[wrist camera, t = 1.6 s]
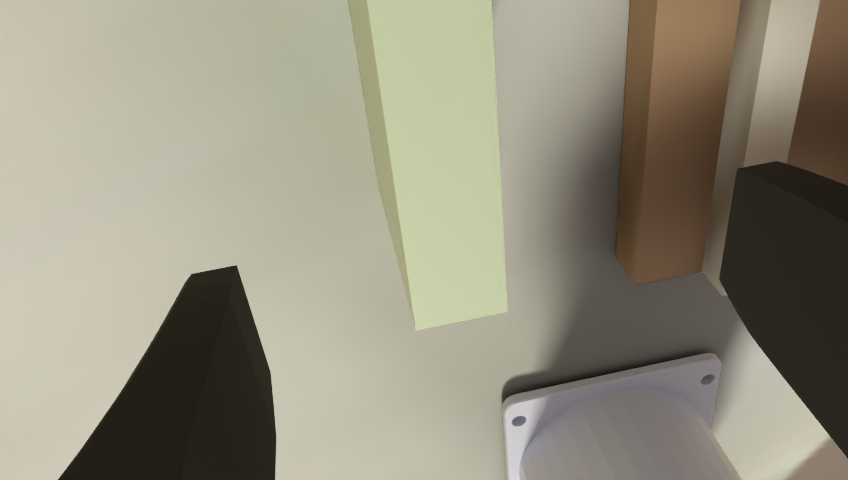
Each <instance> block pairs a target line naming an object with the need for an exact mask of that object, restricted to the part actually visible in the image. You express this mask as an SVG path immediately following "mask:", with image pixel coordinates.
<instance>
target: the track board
mask: <svg viewBox="0 0 848 480" xmlns="http://www.w3.org/2000/svg"><path fill="white" fill-rule="evenodd" d="M774 161H779V162H782V163H786V164H789V165H792V166H796V167H799V168H802V169H805V170H807V171H810V172H813V173H816V174H818V175H821V176H824V177H827V178H829V179H832V180H835V181H837V182H840V183H842V184H845V185H847V186H848V0H630V11H629V29H628V46H627V64H626V81H625V99H624V117H623V134H622V152H621V169H620V187H619V204H618V222H617V239H616V258H617V259H618V260H619V262H620V263H621V265H622V266H623V268H624V269H625V271H626V272H627V274H628V275H629V277H630V278H631V280H632V281H633V283H634V284H635V285H638V284H643V283H648V282H653V281H658V280H663V279H667V278H672V277H677V276H682V275H687V274H692V273H697V272H701V271H702V272H703V274H704V275H705V276H706V277H707V279H708V280H709V281H710V282H711V284H712V285H713V286H714V287H715V288H716V290H717V291H718V292H719V293H720V295H721V296H725V295H727V293H726V291H725V290H724V288H723V286H722V284H721V282H720V280H719V276H720V270H721V264H722V258H723V251H724V245H725V239H726V233H727V227H728V221H729V215H730V208H731V202H732V196H733V190H734V184H735V178H736V172H737V169H738V168H743V167H748V166H753V165H758V164H764V163H769V162H774Z"/></svg>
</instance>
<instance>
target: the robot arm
mask: <svg viewBox="0 0 848 480" xmlns="http://www.w3.org/2000/svg"><path fill="white" fill-rule="evenodd" d="M719 280H720V282H721V284H722V286H723V288H724V290H725V291H726V293H727V295H728V297H729V299H730V300H731V302H732V304H733V306H734V308H735V310H736V311H737V313H738V315H739V316H740V318H741V320H742V321H743V323H744V325H745V326H746V328H747V329H748V331H749V333H750V334H751V336H752V337H753V339H754V340H755V341H756V343H757V344H758V345H759V347H760V348H761V349H762V350H763V352H764V353H765V354H766V356H767V357H768V358H769V359H770V361H771V362H772V363H773V365H774V366H775V367H776V368H777V370H778V371H779V372H780V374H781V375H782V376H783V377H784V379H785V380H786V381H787V382H788V384H789V385H790V386H791V387H792V389H793V390H794V391H795V392H796V394H797V395H798V396H799V398H800V399H801V400H802V401H803V403H804V404H805V405H806V406H807V408H808V409H809V410H810V411H811V413H812V414H813V415H814V416H815V418H816V419H817V420H818V421H819V423H820V424H821V425H822V426H823V428H824V429H825V430H826V431H827V433H828V434H829V435H830V436H831V438H832V439H833V440H834V442H835V443H836V444H837V445H838V447H839V448H840V449H841V450H842V452H843V453H844V454H845V455H846V457H847V458H848V186H847V185H845V184H842V183H840V182H837V181H835V180H832V179H829V178H827V177H824V176H821V175H818V174H816V173H813V172H810V171H807V170H805V169H802V168H799V167H796V166H792V165H789V164H786V163H782V162H779V161H774V162H769V163H764V164H758V165H753V166H748V167H743V168H738V169H737V172H736V178H735V184H734V190H733V196H732V202H731V208H730V215H729V221H728V227H727V233H726V239H725V245H724V251H723V258H722V264H721V270H720V276H719ZM721 368H722V362H721V361H720V360H719V358H718V357H717V356H716V355H715V354H713V353H704V354H699V355H694V356H690V357H685V358H681V359H676V360H671V361H667V362H662V363H657V364H653V365H648V366H644V367H639V368H634V369H630V370H625V371H620V372H616V373H611V374H607V375H602V376H597V377H593V378H588V379H583V380H579V381H574V382H569V383H565V384H560V385H556V386H551V387H546V388H542V389H537V390H532V391H528V392H523V393H519V394H514V395H512V396H509V397H508V398H507V399H505V401H504V402H503V404H502V417H503V432H504V448H505V464H506V480H742V479H741V477H740V475H739V474H738V472H737V471H736V469H735V468H734V466H733V465H732V463H731V461H730V460H729V458H728V457H727V455H726V454H725V452H724V451H723V449H722V447H721V446H720V444H719V443H718V441H717V440H716V438H715V437H714V435H713V433H712V432H711V430H710V429H711V424H712V418H713V412H714V407H715V401H716V396H717V390H718V385H719V379H720V374H721ZM518 416H519V417H518ZM515 417H517V418H515ZM275 460H276V430H275V417H274V405H273V395H272V384H271V374H270V370H269V366H268V363H267V360H266V357H265V354H264V351H263V347H262V344H261V341H260V338H259V335H258V332H257V328H256V325H255V322H254V319H253V316H252V313H251V310H250V306H249V303H248V300H247V297H246V294H245V291H244V287H243V284H242V281H241V278H240V275H239V272H238V268H237V265H236V266H231V267H226V268H221V269H216V270H210V271H205V272H200V273H195V274H191V276H190V277H189V278H188V280H187V281H186V282H185V284H184V286H183V288H182V289H181V291H180V293H179V295H178V297H177V298H176V300H175V302H174V304H173V306H172V307H171V309H170V311H169V313H168V315H167V316H166V318H165V320H164V322H163V323H162V325H161V327H160V329H159V330H158V332H157V334H156V335H155V337H154V339H153V341H152V342H151V344H150V346H149V347H148V349H147V351H146V352H145V354H144V356H143V357H142V359H141V360H140V362H139V364H138V365H137V367H136V368H135V370H134V372H133V373H132V375H131V376H130V378H129V380H128V381H127V383H126V385H125V386H124V388H123V389H122V391H121V392H120V394H119V395H118V397H117V398H116V400H115V401H114V403H113V404H112V406H111V407H110V409H109V410H108V412H107V413H106V414H105V416H104V417H103V419H102V420H101V422H100V423H99V424H98V426H97V427H96V429H95V430H94V432H93V433H92V434H91V436H90V437H89V439H88V440H87V442H86V443H85V445H84V446H83V447H82V449H81V450H80V451H79V453H78V454H77V456H76V457H75V458H74V459H73V461H72V462H71V463H70V465H69V466H68V467H67V469H66V470H65V471H64V473H63V474H62V475H61V476H60V478H59V479H58V480H275Z"/></svg>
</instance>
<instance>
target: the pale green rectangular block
mask: <svg viewBox="0 0 848 480" xmlns="http://www.w3.org/2000/svg"><path fill="white" fill-rule="evenodd" d="M348 4H349V10H350V16H351V22H352V29H353V35H354V41H355V47H356V53H357V59H358V65H359V71H360V77H361V84H362V90H363V96H364V102H365V108H366V114H367V120H368V126H369V132H370V139H371V145H372V151H373V157H374V163H375V169H376V175H377V181H378V187H379V192H380V195H381V199H382V203H383V207H384V211H385V215H386V218H387V222H388V226H389V230H390V234H391V237H392V241H393V245H394V249H395V253H396V257H397V260H398V264H399V268H400V272H401V276H402V279H403V283H404V287H405V291H406V295H407V298H408V302H409V306H410V310H411V314H412V318H413V321H414V325H415V329H416V330H421V329H426V328H431V327H436V326H440V325H445V324H450V323H455V322H460V321H465V320H470V319H475V318H480V317H485V316H489V315H494V314H499V313H504V312H507V293H506V273H505V254H504V234H503V214H502V195H501V175H500V156H499V136H498V117H497V97H496V78H495V58H494V38H493V19H492V0H348Z"/></svg>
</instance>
